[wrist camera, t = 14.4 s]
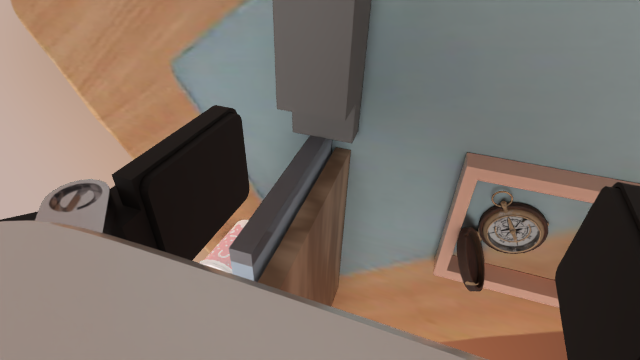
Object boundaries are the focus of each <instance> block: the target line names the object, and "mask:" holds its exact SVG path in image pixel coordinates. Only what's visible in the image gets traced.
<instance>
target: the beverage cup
mask: <svg viewBox="0 0 640 360" xmlns="http://www.w3.org/2000/svg"><path fill="white" fill-rule="evenodd" d="M248 221H249V220H241V221H238V222H237V223H236V224H235V226H234V227H233V228H232V229H231V230H230V231H229V232H228V233H227V235H226V236H225V237H224V238H223V239H222V240H221V241H220V243H219V244H218V245H217V246H216V247H215V248H214V249H213V250H212V252H211V253H210V254H209V255H208V256H207V257H206V258H205V260H203V261H200V262H199V263H200V264H203V265H206V266H209V267H212V268H216V269H219V270H222V271H225V272H228V273H231V274H233V273H232V266H231V260H230V254H229V247H230V246H231V244H232V243H233V242H234V240H235V239H236V237H237V236H238V235H239V233H240V232H241V230H242V229H243V228H244V226H245V225H246V224H247V222H248Z"/></svg>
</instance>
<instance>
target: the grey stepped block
mask: <svg viewBox="0 0 640 360" xmlns="http://www.w3.org/2000/svg"><path fill="white" fill-rule="evenodd" d="M370 9H371V0H273V21H274V47H275V73H276V99H277V109H280V110H286V111H291V112H292V122H293V132H295V133H301V134H306V135H311V136H316V137H322V138H327V139H332V140H337V141H343V142H348V143H352V142H353V140H354V138H355V136H356V134H357V132H358V127H359V117H360V107H361V98H362V88H363V78H364V68H365V58H366V49H367V39H368V29H369V19H370Z"/></svg>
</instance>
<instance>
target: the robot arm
mask: <svg viewBox="0 0 640 360" xmlns="http://www.w3.org/2000/svg"><path fill="white" fill-rule="evenodd" d="M112 177H113V180H114V182H115V186H114V187H113V188H111V189H110V188H109V186H108V185H107V184H106V183H105V182H103V181H100V180H93V179H88V180H79V181H75V182H71V183H68V184H65V185H63V186H60V187H59V188H57V189H55V190H53V191H52V192H51V193H49V194H48V195H47V196H46V197H45V198H44V200H43V201H42V203H41V206H40V208H39V211H38V212H34V213H30V214H26V215H20V216H16V217H11V218H7V219H2V220H0V360H487V359H485V358H482V357H479V356H476V355H473V354H470V353H467V352H464V351H461V350H458V349H455V348H452V347H449V346H446V345H443V344H440V343H437V342H435V341H432V340H429V339H426V338H423V337H420V336H417V335H414V334H411V333H408V332H405V331H402V330H399V329H396V328H393V327H390V326H387V325H384V324H381V323H378V322H375V321H372V320H369V319H366V318H363V317H360V316H357V315H354V314H351V313H348V312H345V311H342V310H339V309H336V308H333V307H330V306H327V305H324V304H321V303H318V302H316V301H313V300H310V299H306V298H303V297H300V296H297V295H294V294H291V293H288V292H285V291H282V290H279V289H276V288H273V287H270V286H267V285H264V284H261V283H258V282H255V281H252V280H249V279H246V278H243V277H240V276H237V275H234V274H231V273H228V272H225V271H222V270H219V269H216V268H212V267H209V266H206V265H203V264H200V263H197V262H194V261H192V260H193V259H194V258H195V257H196V255H197V254H198V253H199V252H200V251H201V250H202V249H203V248H204V246H205V245H206V244H207V243H208V242H209V241H210V240H211V238H212V237H213V236H214V235H215V234H216V233H217V232H218V231H219V229H220V228H221V227H222V226H223V225H224V224H225V223H226V221H227V220H228V219H229V218H230V217H231V216H232V215H233V213H234V212H235V211H236V210H237V209H238V208H239V207H240V206H241V204H242V203H243V202H244V201H245V200H246V198H247V197H248V194H249V180H248V171H247V163H246V154H245V145H244V137H243V128H242V120H241V117H240V115H238V114H237V112H236V110H234V109H233V108H228V107H222V106H217V105H215V106H213V107H211V108H210V109H208V110H207V111H205V112H204V113H202V114H201V115H199V116H198V117H196V118H195V119H193V120H192V121H190V122H189V123H187V124H186V125H185V126H183V127H182V128H180V129H179V130H177V131H176V132H174V133H173V134H171V135H170V136H168V137H167V138H165V139H164V140H162V141H161V142H159V143H158V144H156V145H155V146H154V147H152V148H151V149H149V150H148V151H146V152H145V153H143V154H142V155H140V156H139V157H137V158H136V159H134V160H133V161H131V162H130V163H128V164H127V165H125V166H124V167H123V168H121V169H120V170H118V171H117V172H115V173H114V174H112ZM555 283H556V289H557V295H558V302H559V308H560V314H561V320H562V327H563V333H564V339H565V345H566V351H567V358H568V360H640V186H637V185H631V184H626V183H621V182H617V183H615V184H614V185H613V186H612V187H608V186H605V187H603V188H602V189H601V191H600V192H599V194H598V196H597V198H596V200H595V201H594V203H593V205H592V207H591V208H590V210H589V212H588V214H587V216H586V217H585V219H584V221H583V223H582V225H581V226H580V228H579V230H578V232H577V234H576V235H575V237H574V239H573V241H572V243H571V244H570V246H569V248H568V250H567V251H566V253H565V255H564V257H563V259H562V260H561V262H560V264H559V266H558V268H557V271H556V276H555Z"/></svg>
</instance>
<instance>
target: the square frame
mask: <svg viewBox="0 0 640 360" xmlns="http://www.w3.org/2000/svg"><path fill="white" fill-rule="evenodd" d="M477 180H479V181H484V182H489V183H494V184H499V185H504V186H509V187H514V188H519V189H524V190H529V191H535V192H540V193H545V194H550V195H555V196H560V197H565V198H570V199H575V200H580V201H585V202H590V203H594V201H595V200H596V198H597V196H598V194H599V192H600V191H601V189H602V188H603V187H605V186H608V187H612V186H613V185H614V184H615V183H617V182H621V183H626V184H631V185H637V186H640V184H638V183H633V182H627V181H622V180H616V179H611V178H605V177H600V176H594V175H589V174H583V173H578V172H572V171H567V170H561V169H556V168H551V167H545V166H540V165H534V164H529V163H523V162H518V161H512V160H507V159H501V158H496V157H490V156H485V155H479V154H474V153H468V152H467V154H466V158H465V161H464V164H463V168H462V171H461V174H460V177H459V181H458V184H457V187H456V190H455V194H454V197H453V200H452V204H451V207H450V210H449V213H448V217H447V220H446V223H445V227H444V230H443V233H442V236H441V240H440V243H439V246H438V250H437V253H436V256H435V261H434V270H433V275H436V276H440V277H443V278H447V279H451V280H455V281H459V282H463V280H462V277H461V274H460V270H459V266H458V258H457V256H454V255H452V253H453V250H454V247H455V244H456V241H457V239H458V235H459V233H460V230H461V227H462V224H463V221H464V218H465V215H466V212H467V209H468V206H469V203H470V200H471V197H472V194H473V192H474V189H475V186H476V183H477ZM484 265H485V279H484V285H483V288H486V289H489V290H493V291H497V292H501V293H505V294H508V295H512V296H516V297H520V298H524V299H528V300H531V301H535V302H539V303H543V304H547V305H551V306H554V307H558V308H559V302H558V295H557V289H556V283H555V280H551V279H547V278H543V277H539V276H535V275H531V274H527V273H523V272H519V271H515V270H510V269H506V268H502V267H498V266H494V265H490V264H486V263H484Z"/></svg>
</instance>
